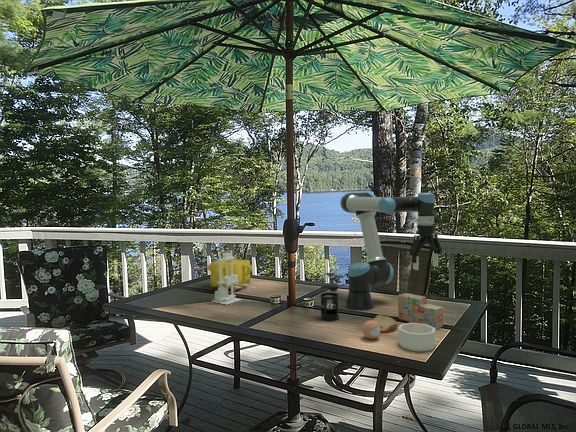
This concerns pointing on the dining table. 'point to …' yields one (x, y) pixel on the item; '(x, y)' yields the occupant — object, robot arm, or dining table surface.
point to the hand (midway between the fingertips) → (425, 268)
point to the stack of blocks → (419, 310)
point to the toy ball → (371, 329)
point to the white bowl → (416, 337)
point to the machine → (227, 282)
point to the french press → (329, 314)
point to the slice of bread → (386, 323)
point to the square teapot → (239, 268)
